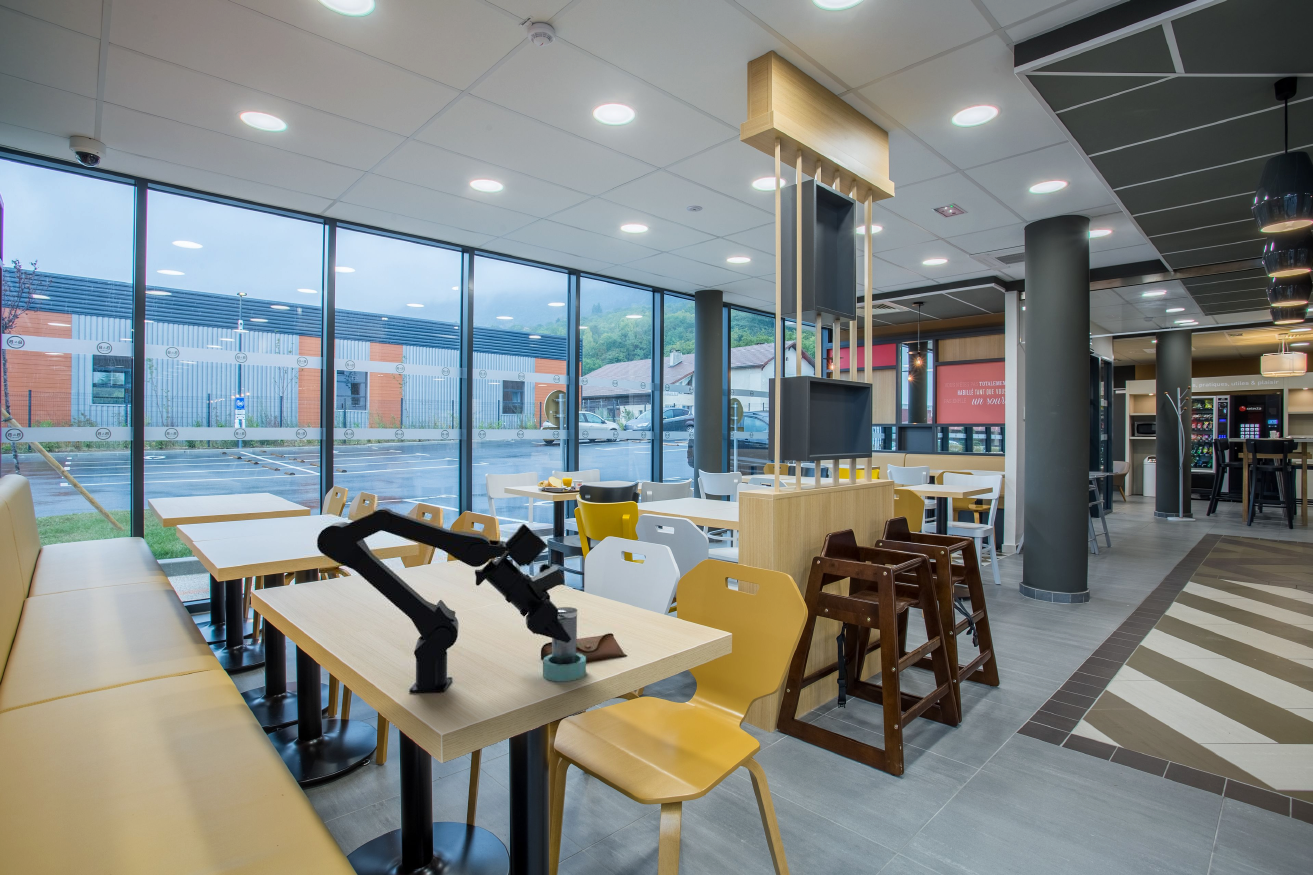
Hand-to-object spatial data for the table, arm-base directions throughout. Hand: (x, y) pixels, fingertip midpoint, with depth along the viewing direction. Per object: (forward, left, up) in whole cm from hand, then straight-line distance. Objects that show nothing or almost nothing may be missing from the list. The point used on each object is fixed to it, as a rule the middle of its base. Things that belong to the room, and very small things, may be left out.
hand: (565, 634), depth 130 cm
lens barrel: (0, 0, -8) cm, 8 cm away
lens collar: (0, 0, -8) cm, 8 cm away
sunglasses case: (+10, -3, -9) cm, 14 cm away
